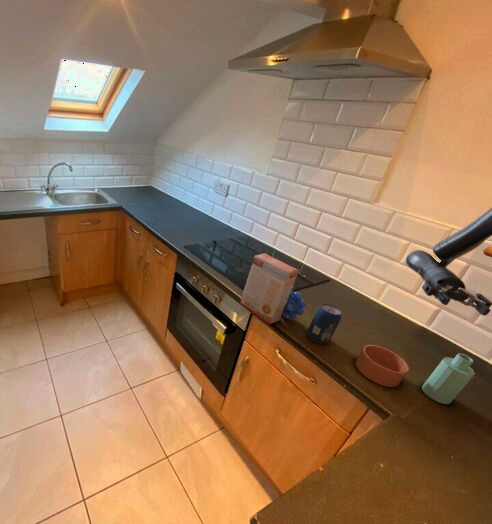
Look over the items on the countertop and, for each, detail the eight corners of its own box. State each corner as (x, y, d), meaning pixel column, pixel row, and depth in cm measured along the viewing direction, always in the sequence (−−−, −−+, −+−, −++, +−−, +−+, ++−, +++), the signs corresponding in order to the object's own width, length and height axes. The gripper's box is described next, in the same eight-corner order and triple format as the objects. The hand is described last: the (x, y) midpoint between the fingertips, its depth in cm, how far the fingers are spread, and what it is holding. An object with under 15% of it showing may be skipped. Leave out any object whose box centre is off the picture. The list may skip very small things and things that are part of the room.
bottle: (431, 383, 87) (459, 347, 81) (455, 402, 82) (487, 365, 76) (416, 387, 86) (444, 350, 79) (440, 405, 80) (472, 368, 74)
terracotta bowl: (373, 356, 96) (381, 343, 93) (408, 383, 86) (418, 370, 84) (347, 360, 93) (354, 347, 90) (380, 389, 83) (390, 375, 81)
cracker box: (280, 320, 107) (300, 270, 98) (269, 325, 104) (289, 273, 95) (249, 300, 118) (265, 252, 108) (239, 303, 115) (254, 254, 105)
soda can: (314, 329, 105) (327, 300, 100) (333, 341, 100) (348, 312, 95) (301, 334, 102) (315, 305, 96) (320, 347, 97) (335, 317, 91)
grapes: (267, 319, 107) (278, 291, 102) (265, 309, 113) (275, 282, 108) (302, 328, 105) (314, 299, 100) (298, 317, 111) (310, 289, 105)
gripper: (422, 265, 97) (442, 287, 83) (478, 278, 92) (509, 305, 78) (410, 285, 100) (427, 309, 87) (463, 299, 95) (490, 327, 82)
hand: (466, 307), depth 83 cm, fingers open, 8 cm apart
